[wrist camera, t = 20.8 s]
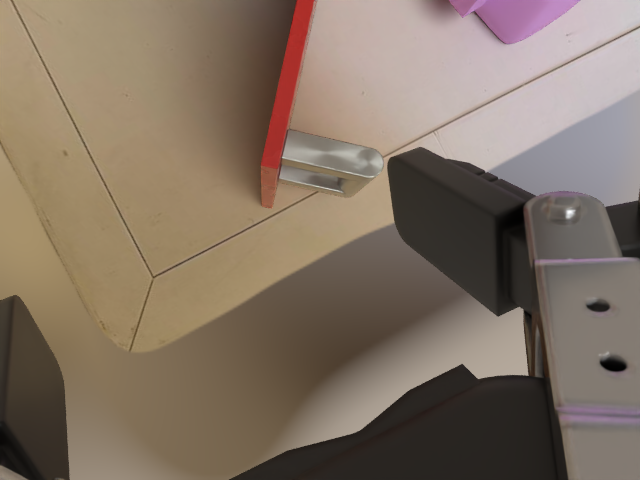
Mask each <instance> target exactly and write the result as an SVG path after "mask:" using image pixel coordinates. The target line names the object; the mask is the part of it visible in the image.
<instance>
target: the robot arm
mask: <svg viewBox="0 0 640 480" xmlns="http://www.w3.org/2000/svg"><path fill="white" fill-rule="evenodd" d="M387 169H388V177H389V185H390V192H391V199H392V207H393V214H394V221H395V225H396V227H397V230H398V232H399V234H400V236H401V237H402V239H403V240H404V241H405V242H406V244H408V245H409V246H410V247H411V248H412V249H414V250H415V251H416V252H417V253H419V254H420V255H421V256H422V257H424V258H425V259H426V260H428V261H429V262H430V263H431V264H433V265H434V266H435V267H437V268H438V269H439V270H440V271H441V272H443V273H444V274H445V275H446V276H448V277H449V278H450V279H451V280H453V281H454V282H455V283H456V284H458V285H459V286H460V287H461V288H463V289H464V290H465V291H467V292H468V293H469V294H470V295H471V296H473V297H474V298H475V299H476V300H478V301H479V302H480V303H481V304H483V305H484V306H485V307H487V308H488V309H489V310H490V311H491V312H493V313H494V314H495V315H497V316H500V315H502V314H505V313H506V312H509V311H511V310H513V309H515V308H517V307H519V306H520V307H521V308H523V309H524V334H525V344H526V354H527V364H528V374H529V376H523V375H506V376H494V377H487V378H482V379H477V378H476V377H475V376H474V375H473V374H472V373H471V372H470V371H469V370H468V369H467V368H466V367H465V366H464V365H463V364H461V365H459V366H458V367H455V368H453V369H451V370H449V371H447V372H445V373H443V374H441V375H439V376H437V377H435V378H433V379H431V380H429V381H427V382H425V383H423V384H421V385H419V386H417V387H415V388H413V389H411V390H409V391H408V392H406V393H405V394H404V395H403V396H402V397H400V398H399V399H398V400H397V401H396V402H394V403H393V404H392V405H391V406H390V407H388V408H387V409H386V410H385V411H384V412H382V413H381V414H380V415H379V416H378V417H376V418H375V419H374V420H373V421H371V423H369V424H368V425H367V426H366V427H364V428H363V429H362V430H360V431H358V432H356V433H353V434H350V435H346V436H342V437H339V438H335V439H331V440H327V441H323V442H319V443H316V444H312V445H308V446H304V447H300V448H296V449H292V450H289V451H286V452H284V453H282V454H280V455H278V456H276V457H274V458H272V459H270V460H268V461H266V462H264V463H262V464H260V465H258V466H256V467H254V468H252V469H250V470H248V471H246V472H244V473H241V474H239V475H238V476H236V477H233V478H232V479H229V480H640V192H639V200H638V201H634V202H629V203H623V204H618V205H613V206H608V207H605V206H604V204H602V202H601V201H599V200H598V199H596V198H594V197H592V196H590V195H586V194H583V193H578V192H569V191H559V192H550V193H545V194H542V195H539V196H535V195H533V194H531V193H529V192H527V191H525V190H523V189H521V188H519V187H517V186H515V185H513V184H511V183H509V182H507V181H505V180H503V179H498V177H496V176H494V175H492V174H490V173H488V172H487V173H485V171H484V170H482V169H480V168H478V167H476V166H474V165H472V164H470V163H467V162H461V161H456V160H451V159H444V158H442V157H440V156H438V155H437V154H435V153H433V152H431V151H429V150H427V149H425V148H422V147H418V148H415V149H413V150H410V151H407V152H405V153H402V154H399V155H396V156H394V157H391V158H390V159H389V161H388V165H387ZM0 480H70V479H69V462H68V444H67V425H66V407H65V390H64V380H63V377H62V373H61V370H60V367H59V364H58V362H57V360H56V358H55V356H54V354H53V352H52V350H51V349H50V347H49V345H48V344H47V342H46V340H45V339H44V337H43V335H42V333H41V331H40V330H39V328H38V327H37V324H36V323H35V321H34V319H33V318H32V316H31V314H30V312H29V311H28V309H27V307H26V305H25V304H24V302H23V301H22V300H21V299H20V297H19V296H17V295H14V296H11V297H8V298H6V299H3V300H0Z"/></svg>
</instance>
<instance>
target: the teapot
mask: <svg viewBox="0 0 640 480" xmlns="http://www.w3.org/2000/svg"><path fill="white" fill-rule="evenodd" d="M449 1H450V3H451V4H452V5H453V6H454V8H455V9H456V10H457V11H458V13H459V14H460V15H461V16H462V18H463V17H465V16H466V15H468V14H469V13H471V12H473V11H475V12H476V13H477V14H478V15H479V16H480V18H481V19H482V20H483V21H484V22H485V23H486V24H487V26H488V27H489V28H490V29H491V30H492V31H493V32H494V33H495V34H496V36H497V37H498V38H499V39H500V40H501V41H503V42H504V43H506V44H511V43H516V42H518V41H521V40H523V39H525V38H527V37H529V36H531V35H532V34H534V33H536V32H537V31H539V30H541V29H542V28H544V27H545V26H547V25H548V24H550V23H551V22H553V21H554V20H556V19H557V18H559V17H560V16H561V15H563V14H564V13H566V12H567V11H568V10H569V9H571V8H572V7H573V6H574V5H575V4H577V3H578V2H579V1H580V0H449Z"/></svg>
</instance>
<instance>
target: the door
mask: <svg viewBox="0 0 640 480" xmlns="http://www.w3.org/2000/svg"><path fill="white" fill-rule="evenodd" d="M316 3H317V0H297V1H296V6H295V10H294V15H293V19H292V24H291V28H290V33H289V38H288V42H287V47H286V51H285V56H284V60H283V65H282V70H281V74H280V79H279V83H278V88H277V92H276V97H275V102H274V106H273V111H272V115H271V120H270V124H269V129H268V134H267V138H266V143H265V147H264V152H263V156H262V161H261V202H262V207H266V208H272V207H273V202H274V197H275V193H276V188H277V183H282V184H287V185H291V186H296V187H300V188H305V189H309V190H314V191H318V192H323V193H327V194H332V195H336V196H340V197H345V198H349V197H352V196H354V195H355V194H356V193H357V192H358V191H360V190H361V189H362V188H363V187H364V186H366V185H367V184H368V183H369V182H370V181H372V180H373V179H374V178H375V177H376V176H378V175H379V174H380V173H381V171H382V169H383V166H384V160H383V157H382V155H381V154H380V153H379V152H378V151H377V150H375V149H373V148H369V147H364V146H360V145H356V144H351V143H347V142H343V141H339V140H334V139H330V138H326V137H321V136H317V135H313V134H308V133H304V132H300V131H295V130H291V129H289V128H290V123H291V119H292V114H293V109H294V105H295V100H296V95H297V91H298V86H299V82H300V77H301V72H302V68H303V63H304V58H305V54H306V49H307V44H308V40H309V35H310V31H311V26H312V21H313V17H314V12H315V7H316Z"/></svg>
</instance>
